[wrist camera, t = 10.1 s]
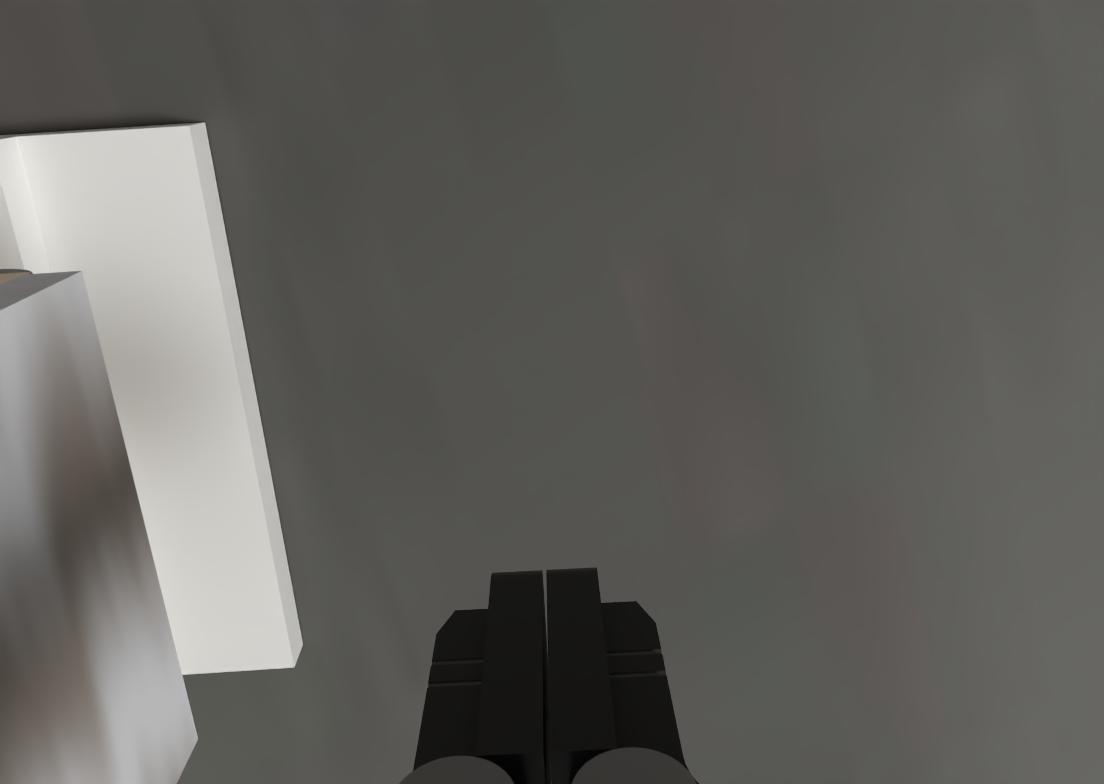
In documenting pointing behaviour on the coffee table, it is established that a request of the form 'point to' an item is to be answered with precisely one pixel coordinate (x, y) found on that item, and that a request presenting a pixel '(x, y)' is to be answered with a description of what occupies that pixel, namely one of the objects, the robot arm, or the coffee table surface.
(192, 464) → the dock
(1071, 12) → the coffee table surface
